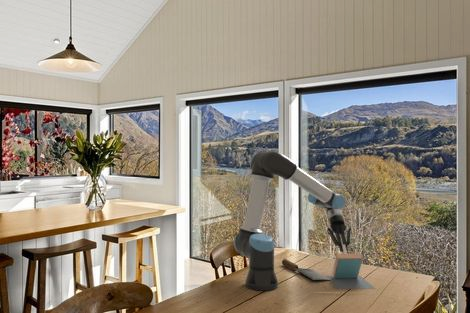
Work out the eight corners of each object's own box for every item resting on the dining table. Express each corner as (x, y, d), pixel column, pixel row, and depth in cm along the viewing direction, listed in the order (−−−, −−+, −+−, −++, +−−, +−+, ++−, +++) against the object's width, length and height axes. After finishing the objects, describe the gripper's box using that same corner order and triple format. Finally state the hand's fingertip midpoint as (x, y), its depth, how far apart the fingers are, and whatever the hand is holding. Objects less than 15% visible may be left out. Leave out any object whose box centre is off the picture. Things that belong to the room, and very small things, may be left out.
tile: (333, 279, 194) (338, 258, 187) (332, 273, 197) (336, 253, 190) (357, 278, 194) (363, 258, 187) (355, 273, 197) (360, 253, 190)
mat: (337, 290, 179) (337, 289, 179) (325, 276, 199) (325, 275, 199) (375, 289, 179) (375, 288, 179) (360, 276, 199) (360, 275, 199)
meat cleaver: (332, 279, 192) (332, 271, 192) (312, 283, 188) (312, 275, 188) (298, 263, 223) (298, 256, 223) (280, 266, 219) (280, 258, 219)
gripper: (346, 222, 215) (356, 260, 198) (322, 222, 214) (331, 261, 198) (349, 214, 209) (360, 253, 193) (325, 214, 209) (334, 253, 192)
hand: (345, 257), depth 195 cm, fingers closed
